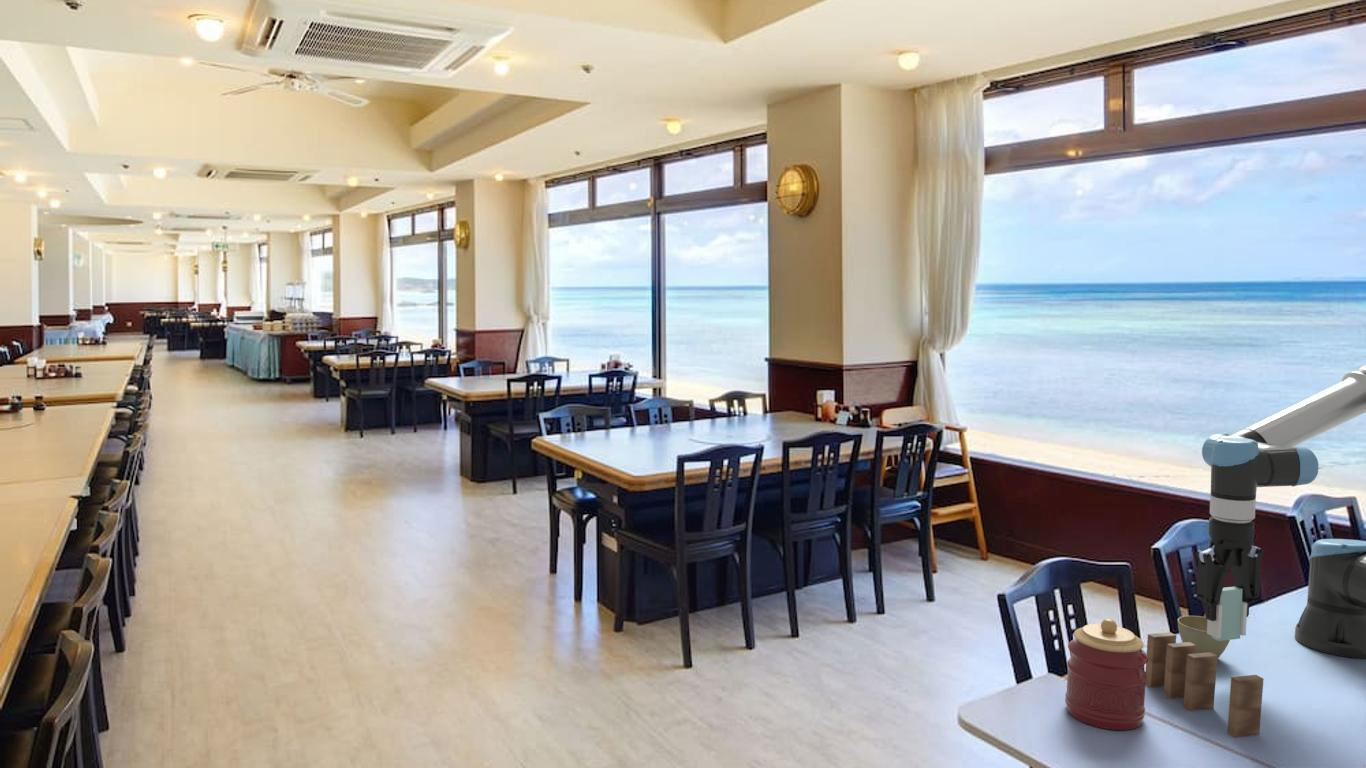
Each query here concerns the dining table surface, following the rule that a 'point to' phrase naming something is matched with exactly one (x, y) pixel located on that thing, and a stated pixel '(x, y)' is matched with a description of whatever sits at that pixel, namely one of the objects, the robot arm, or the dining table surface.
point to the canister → (1106, 677)
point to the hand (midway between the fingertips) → (1226, 634)
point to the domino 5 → (1245, 705)
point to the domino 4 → (1230, 613)
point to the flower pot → (1200, 635)
